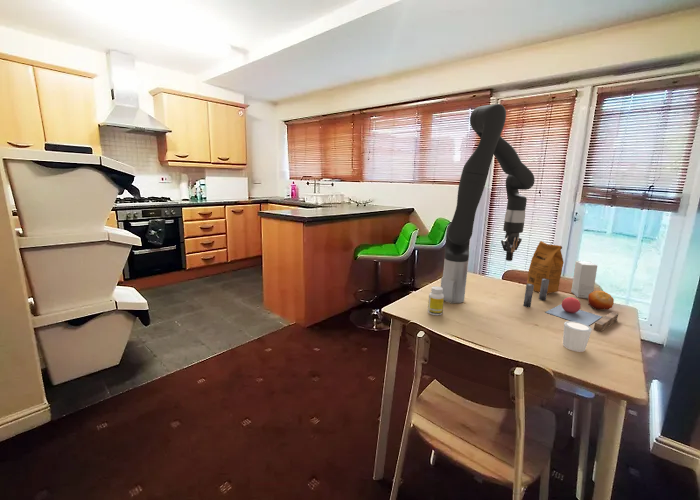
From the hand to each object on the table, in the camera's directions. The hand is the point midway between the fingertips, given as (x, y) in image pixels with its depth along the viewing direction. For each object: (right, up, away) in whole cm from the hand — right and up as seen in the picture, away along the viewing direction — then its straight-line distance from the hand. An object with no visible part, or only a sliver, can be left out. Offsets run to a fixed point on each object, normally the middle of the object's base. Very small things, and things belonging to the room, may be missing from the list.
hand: (508, 260), depth 139 cm
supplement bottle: (-37, -19, -19) cm, 46 cm away
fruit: (+30, -19, -11) cm, 37 cm away
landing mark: (+15, -20, -18) cm, 31 cm away
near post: (+2, -18, -11) cm, 21 cm away
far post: (+13, -16, -3) cm, 21 cm away
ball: (+15, -16, -17) cm, 28 cm away
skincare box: (+33, -16, +3) cm, 37 cm away
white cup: (-1, -25, -41) cm, 48 cm away
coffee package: (+19, -14, +9) cm, 25 cm away
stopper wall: (+21, -22, -26) cm, 40 cm away
